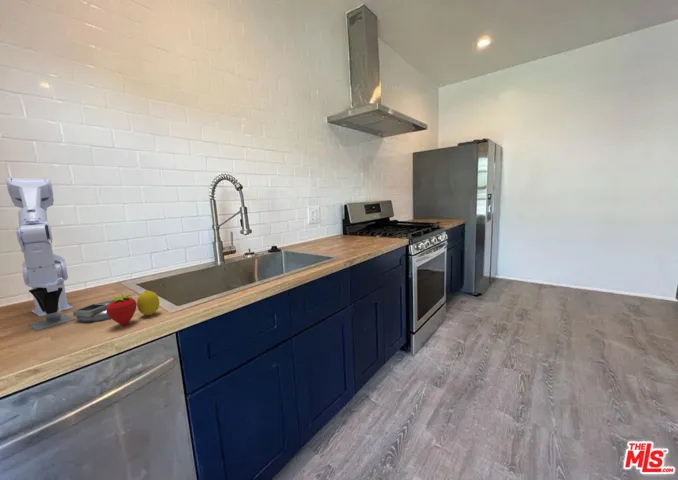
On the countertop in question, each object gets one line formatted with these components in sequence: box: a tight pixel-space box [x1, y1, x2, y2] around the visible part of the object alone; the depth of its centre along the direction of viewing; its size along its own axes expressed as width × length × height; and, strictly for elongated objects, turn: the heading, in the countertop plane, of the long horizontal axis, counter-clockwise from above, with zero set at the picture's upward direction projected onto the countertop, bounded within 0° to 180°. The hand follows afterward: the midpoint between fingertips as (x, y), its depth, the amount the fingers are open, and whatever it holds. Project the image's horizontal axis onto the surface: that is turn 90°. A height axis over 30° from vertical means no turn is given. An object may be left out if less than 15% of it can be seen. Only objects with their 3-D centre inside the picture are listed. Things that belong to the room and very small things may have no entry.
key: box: [44, 300, 62, 321], centre depth 84 cm, size 3×3×7 cm
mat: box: [28, 314, 75, 332], centre depth 84 cm, size 8×8×1 cm
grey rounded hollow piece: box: [72, 299, 114, 324], centre depth 89 cm, size 14×14×4 cm
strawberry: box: [106, 290, 137, 327], centre depth 79 cm, size 6×8×10 cm
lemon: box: [136, 289, 160, 317], centre depth 85 cm, size 6×6×8 cm
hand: (50, 311), depth 83 cm, fingers closed on key, 3 cm apart
